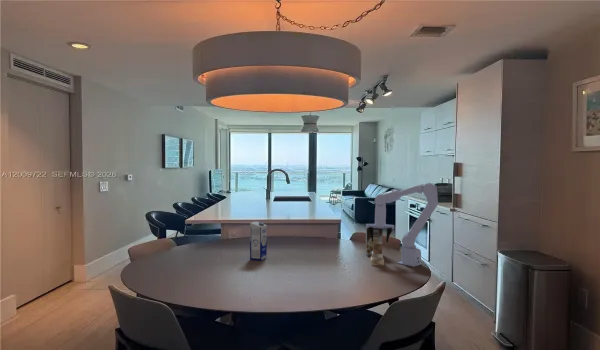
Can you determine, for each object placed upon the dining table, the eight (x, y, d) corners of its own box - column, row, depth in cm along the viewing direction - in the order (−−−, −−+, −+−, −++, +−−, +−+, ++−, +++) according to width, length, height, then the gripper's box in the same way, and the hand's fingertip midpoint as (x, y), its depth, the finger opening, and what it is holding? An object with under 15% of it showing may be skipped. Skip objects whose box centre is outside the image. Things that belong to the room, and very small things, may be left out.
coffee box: (366, 255, 207) (366, 227, 207) (365, 253, 214) (365, 226, 214) (382, 256, 207) (382, 228, 206) (381, 253, 213) (381, 226, 213)
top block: (382, 257, 193) (382, 251, 193) (382, 259, 188) (382, 254, 188) (371, 256, 194) (371, 251, 194) (371, 259, 189) (371, 253, 189)
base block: (382, 262, 193) (383, 257, 193) (384, 266, 187) (384, 260, 187) (370, 262, 194) (370, 256, 194) (371, 265, 188) (371, 259, 188)
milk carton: (255, 256, 202) (255, 220, 202) (266, 257, 200) (267, 221, 200) (249, 259, 196) (250, 222, 195) (261, 260, 193) (261, 223, 193)
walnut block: (381, 252, 193) (381, 242, 192) (382, 253, 188) (382, 244, 188) (372, 251, 193) (372, 242, 193) (373, 253, 189) (373, 243, 189)
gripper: (367, 216, 193) (366, 242, 193) (395, 218, 191) (394, 243, 191) (366, 215, 200) (365, 239, 200) (393, 216, 198) (392, 241, 198)
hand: (379, 241), depth 196 cm, fingers open, 7 cm apart
